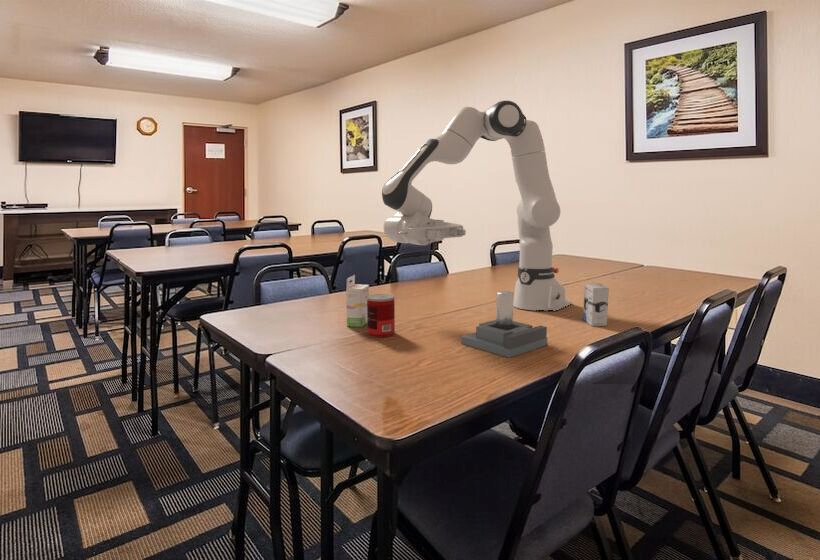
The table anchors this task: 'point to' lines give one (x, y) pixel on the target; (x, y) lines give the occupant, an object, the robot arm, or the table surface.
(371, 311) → the canned food
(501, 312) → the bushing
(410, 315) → the table surface
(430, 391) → the table surface
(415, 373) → the table surface
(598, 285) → the ink box
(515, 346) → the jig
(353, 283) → the ink box
